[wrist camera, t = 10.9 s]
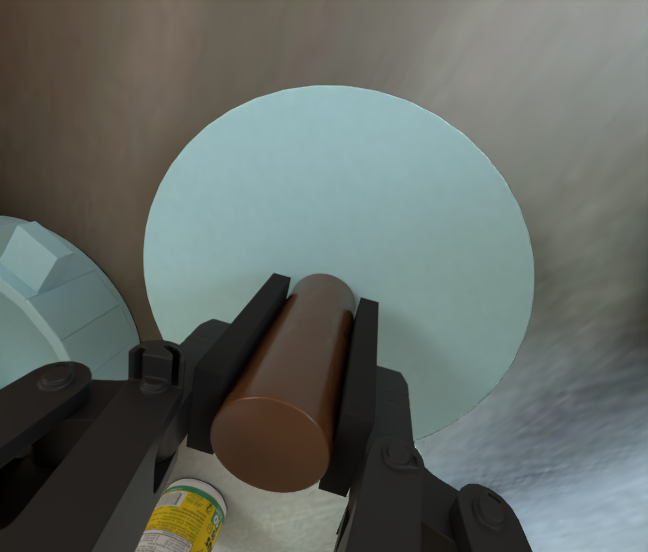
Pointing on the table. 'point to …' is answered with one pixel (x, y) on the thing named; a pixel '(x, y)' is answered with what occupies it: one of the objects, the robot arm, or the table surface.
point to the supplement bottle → (184, 519)
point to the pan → (57, 307)
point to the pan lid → (339, 265)
